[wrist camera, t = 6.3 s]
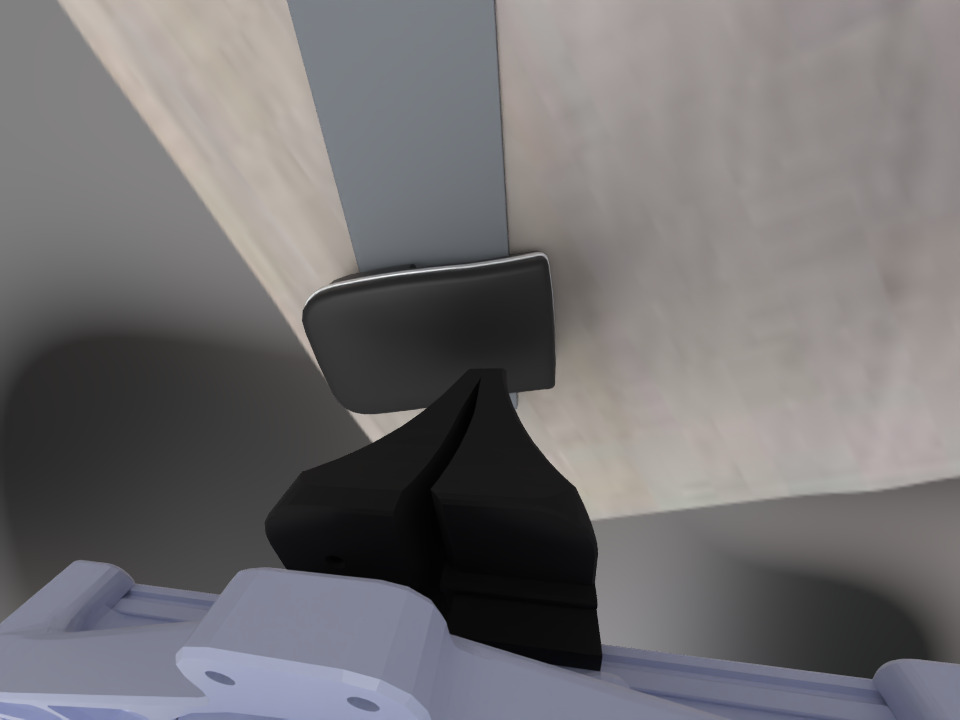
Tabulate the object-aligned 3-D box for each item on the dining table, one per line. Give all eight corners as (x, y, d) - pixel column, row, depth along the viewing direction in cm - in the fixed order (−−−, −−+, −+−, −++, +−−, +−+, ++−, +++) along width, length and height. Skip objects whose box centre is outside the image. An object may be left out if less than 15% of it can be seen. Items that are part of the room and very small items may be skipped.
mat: (491, -59, 12) (489, -68, 11) (517, 403, 21) (517, 408, 21) (290, -11, 13) (282, -17, 13) (398, 402, 23) (395, 407, 22)
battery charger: (538, 236, 17) (318, 271, 17) (554, 251, 14) (282, 295, 14) (546, 357, 20) (361, 383, 21) (560, 393, 17) (340, 424, 18)
